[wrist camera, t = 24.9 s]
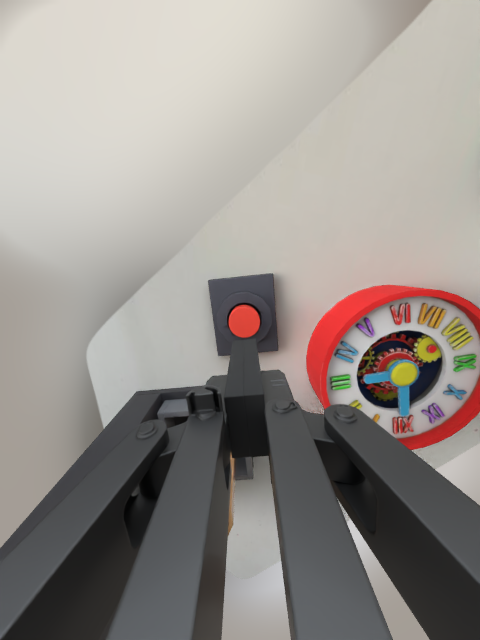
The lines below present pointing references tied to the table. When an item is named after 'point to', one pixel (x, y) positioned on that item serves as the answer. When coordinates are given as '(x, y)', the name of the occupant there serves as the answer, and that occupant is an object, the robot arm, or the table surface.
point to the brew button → (244, 321)
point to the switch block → (244, 292)
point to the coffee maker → (136, 411)
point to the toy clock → (400, 360)
